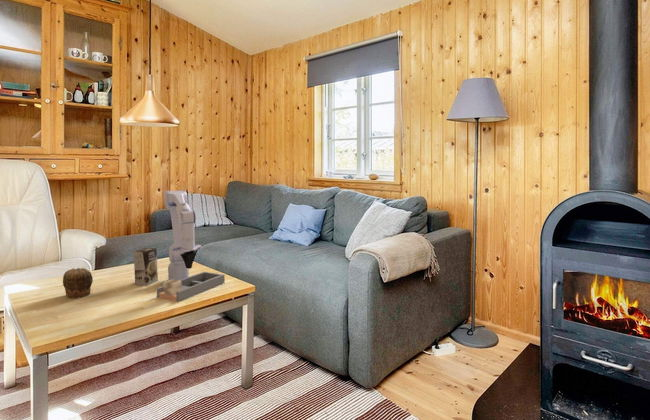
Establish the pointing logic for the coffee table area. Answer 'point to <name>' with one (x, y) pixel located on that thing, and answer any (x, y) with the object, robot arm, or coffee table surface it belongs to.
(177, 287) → the cream block
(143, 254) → the coffee box
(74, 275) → the dark brown rounded lump
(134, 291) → the coffee table surface
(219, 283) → the tray
